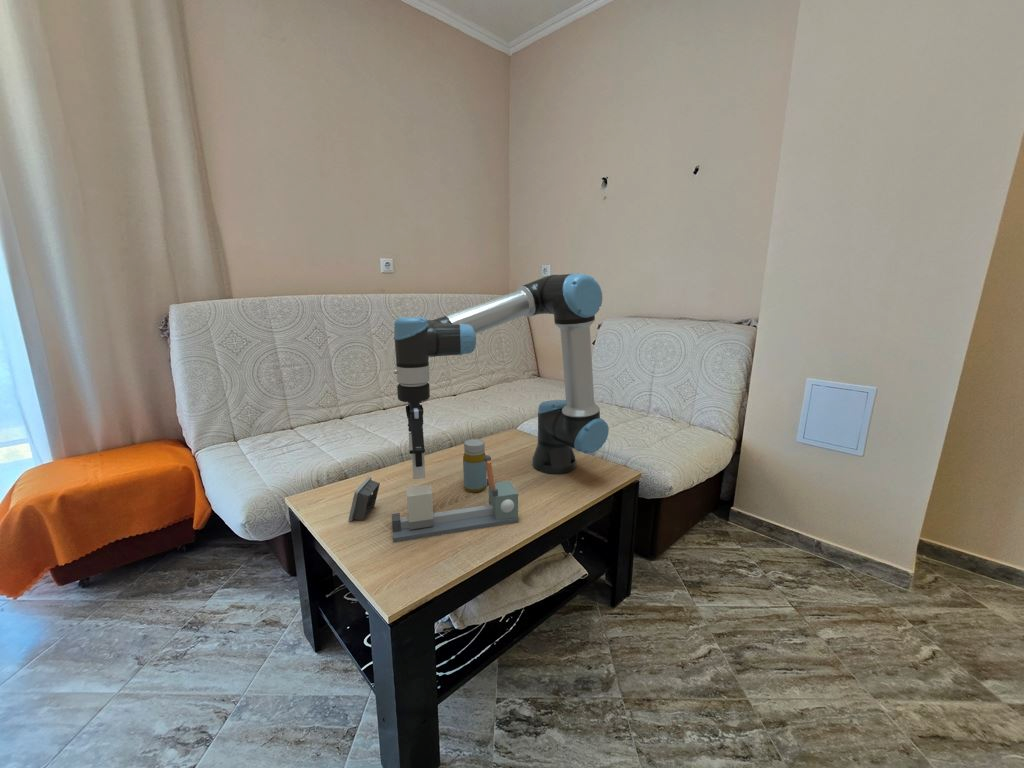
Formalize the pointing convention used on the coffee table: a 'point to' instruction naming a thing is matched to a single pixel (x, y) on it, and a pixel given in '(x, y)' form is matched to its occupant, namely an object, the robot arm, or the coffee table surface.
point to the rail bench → (449, 528)
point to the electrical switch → (364, 499)
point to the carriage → (420, 506)
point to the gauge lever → (489, 471)
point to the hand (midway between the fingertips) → (417, 466)
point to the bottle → (474, 465)
